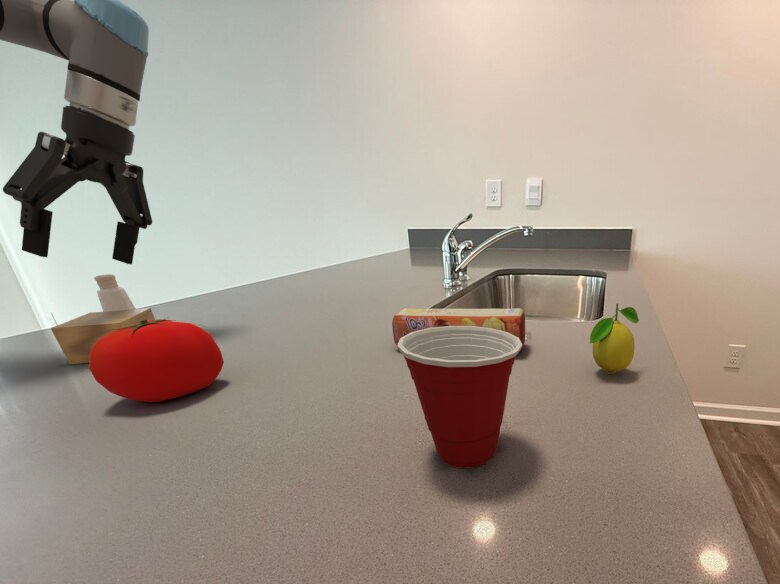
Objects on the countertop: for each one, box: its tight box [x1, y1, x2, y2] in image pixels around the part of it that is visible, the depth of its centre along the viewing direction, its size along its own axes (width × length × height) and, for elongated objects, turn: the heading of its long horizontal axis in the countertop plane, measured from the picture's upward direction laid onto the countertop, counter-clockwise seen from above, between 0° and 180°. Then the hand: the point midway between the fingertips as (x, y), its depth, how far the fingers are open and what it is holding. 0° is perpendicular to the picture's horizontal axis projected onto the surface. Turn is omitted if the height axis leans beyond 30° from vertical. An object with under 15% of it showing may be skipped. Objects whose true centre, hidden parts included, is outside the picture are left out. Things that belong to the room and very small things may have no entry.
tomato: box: [88, 317, 225, 403], centre depth 52 cm, size 11×13×10 cm
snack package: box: [391, 307, 526, 354], centre depth 65 cm, size 21×7×7 cm, turn 79°
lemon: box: [589, 303, 640, 375], centre depth 55 cm, size 7×6×10 cm
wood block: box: [50, 307, 156, 365], centre depth 68 cm, size 9×9×6 cm
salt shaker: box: [93, 273, 137, 312], centre depth 75 cm, size 5×5×11 cm
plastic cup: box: [396, 326, 523, 469], centre depth 38 cm, size 11×11×12 cm
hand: (82, 258), depth 64 cm, fingers open, 13 cm apart
